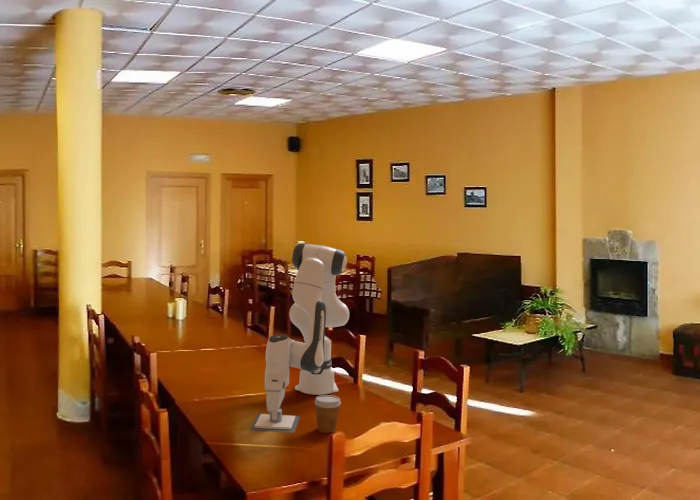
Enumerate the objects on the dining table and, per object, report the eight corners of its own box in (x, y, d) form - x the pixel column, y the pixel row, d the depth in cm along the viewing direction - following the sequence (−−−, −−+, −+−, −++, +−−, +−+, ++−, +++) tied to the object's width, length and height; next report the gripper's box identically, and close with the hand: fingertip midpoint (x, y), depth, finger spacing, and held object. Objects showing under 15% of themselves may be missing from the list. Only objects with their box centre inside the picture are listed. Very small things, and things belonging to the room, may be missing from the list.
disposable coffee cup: (339, 427, 245) (340, 395, 244) (339, 436, 235) (341, 403, 234) (313, 426, 244) (314, 394, 243) (312, 435, 235) (314, 402, 234)
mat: (258, 415, 254) (258, 414, 254) (300, 417, 253) (300, 416, 253) (249, 431, 236) (249, 430, 236) (294, 434, 235) (294, 432, 235)
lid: (260, 416, 251) (261, 403, 251) (295, 417, 251) (295, 405, 250) (254, 427, 238) (255, 414, 238) (290, 429, 238) (291, 416, 237)
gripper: (272, 371, 254) (271, 407, 255) (263, 386, 233) (262, 425, 234) (289, 372, 253) (288, 408, 255) (281, 387, 233) (280, 426, 234)
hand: (275, 416), depth 244 cm, fingers closed on lid, 4 cm apart
